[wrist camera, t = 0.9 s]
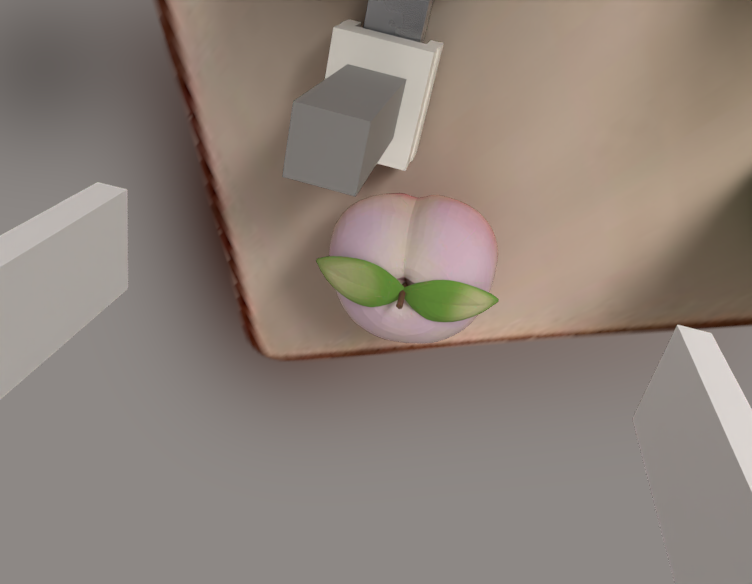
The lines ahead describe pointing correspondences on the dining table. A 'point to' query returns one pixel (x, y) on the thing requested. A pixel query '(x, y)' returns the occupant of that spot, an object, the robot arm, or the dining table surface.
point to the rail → (399, 18)
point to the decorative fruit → (412, 266)
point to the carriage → (361, 109)
